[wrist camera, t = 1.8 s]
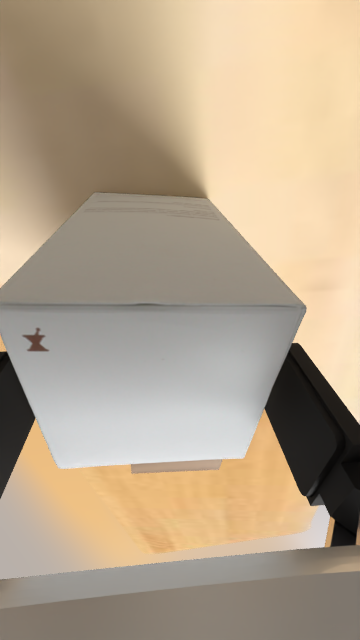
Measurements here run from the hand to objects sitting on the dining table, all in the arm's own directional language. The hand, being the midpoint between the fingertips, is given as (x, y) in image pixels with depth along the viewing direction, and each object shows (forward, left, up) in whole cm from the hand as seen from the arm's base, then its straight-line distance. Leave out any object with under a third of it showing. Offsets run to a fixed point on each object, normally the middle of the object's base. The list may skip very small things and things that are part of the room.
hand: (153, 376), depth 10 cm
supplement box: (-1, 0, -11) cm, 11 cm away
